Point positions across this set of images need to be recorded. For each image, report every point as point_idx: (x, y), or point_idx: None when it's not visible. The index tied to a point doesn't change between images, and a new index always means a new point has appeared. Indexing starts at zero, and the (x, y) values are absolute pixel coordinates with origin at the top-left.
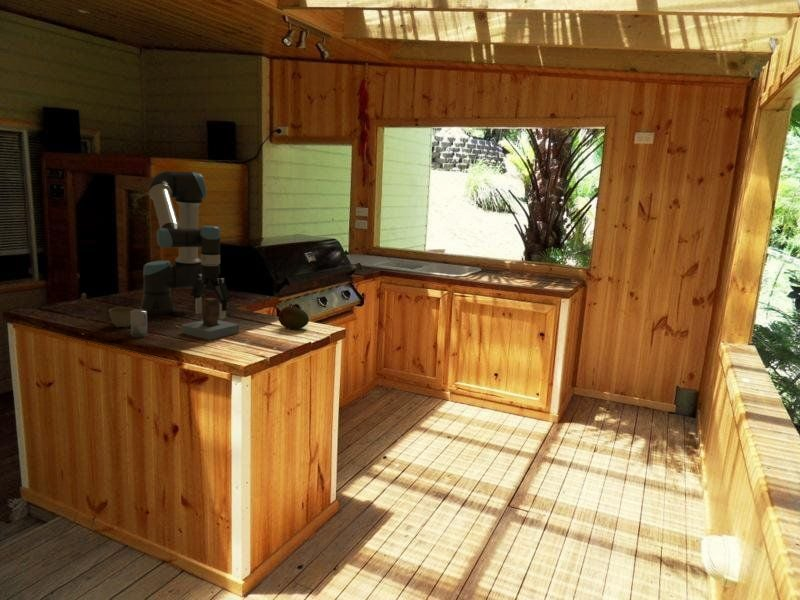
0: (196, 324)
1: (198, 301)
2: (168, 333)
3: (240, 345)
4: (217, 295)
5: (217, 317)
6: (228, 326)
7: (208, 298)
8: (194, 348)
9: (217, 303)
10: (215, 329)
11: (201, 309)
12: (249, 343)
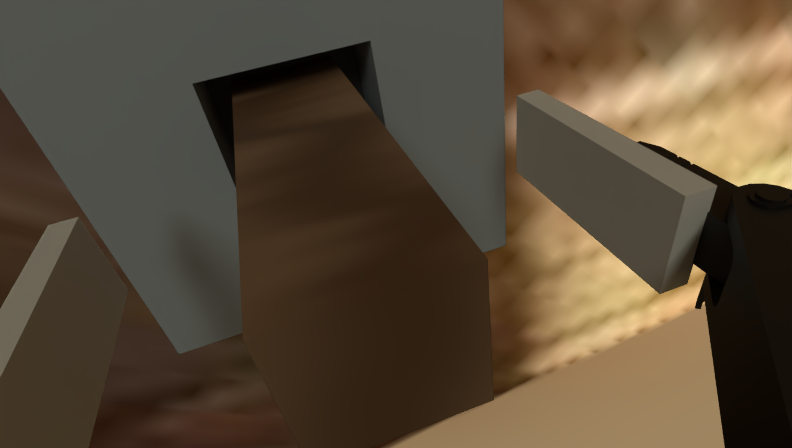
0: (226, 251)
1: (63, 423)
2: (146, 367)
3: (697, 108)
4: (723, 417)
5: (368, 106)
6: (488, 21)
7: (324, 394)
8: (542, 324)
9: (443, 203)
10: (491, 186)
11: (69, 256)
12: (725, 27)
